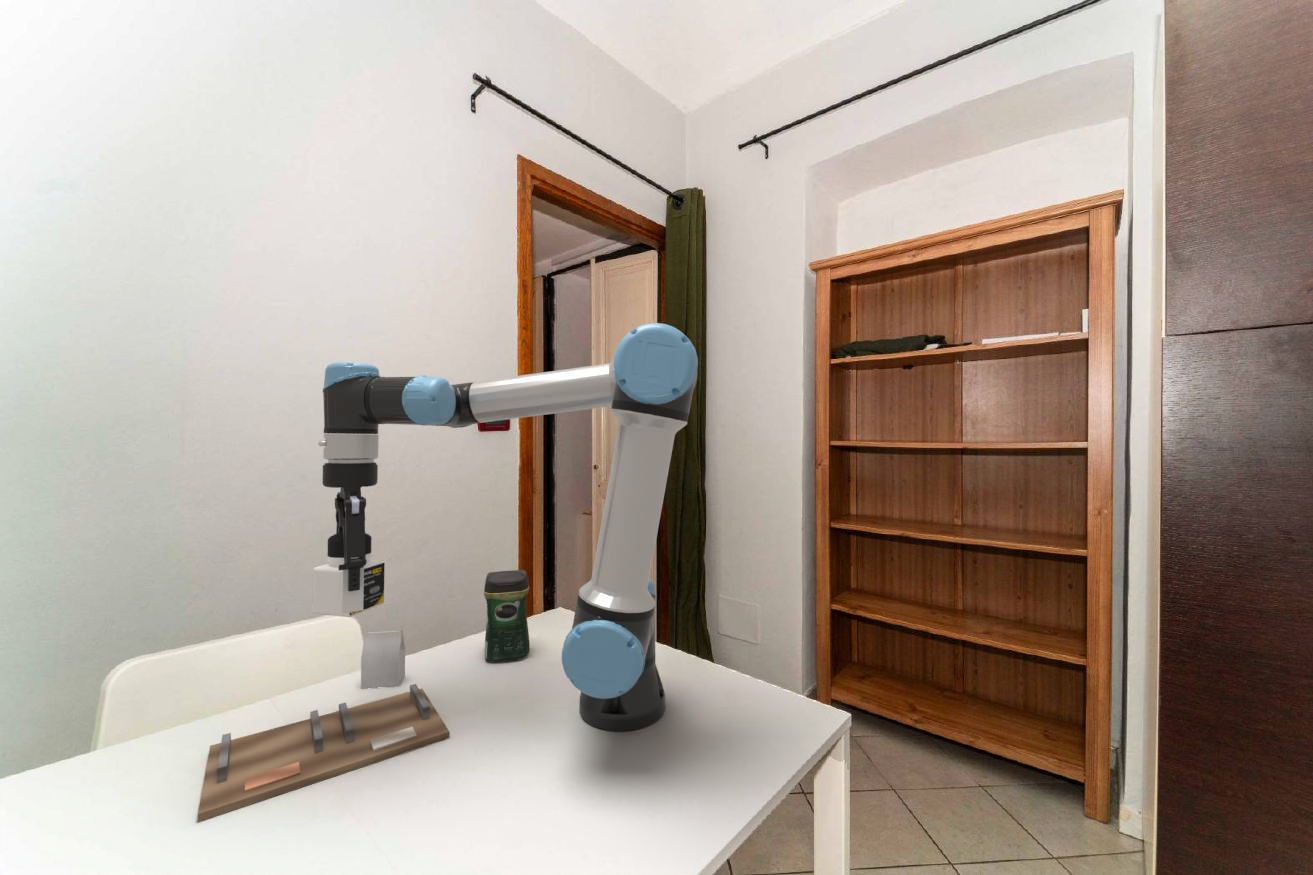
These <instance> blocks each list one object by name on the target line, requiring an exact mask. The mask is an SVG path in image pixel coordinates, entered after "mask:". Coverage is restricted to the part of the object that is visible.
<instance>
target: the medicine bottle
mask: <svg viewBox="0 0 1313 875" xmlns="http://www.w3.org/2000/svg"><path fill="white" fill-rule="evenodd" d="M372 552H373V535H372V534H371V533H369V532H366V531H365V553H366V561H367V562H366V565H365V566H364V595H363V610H361V611H355V612H349V613H342V576H343V570H339V568H338V567H339V565H343V564H344V544H343V532H342V533H337V534H336V533H335V534H333V535H331V536H329V537H328V538H327V556H326V557H327V562H329V563H326V564H322V565H318V566H314V567H313V568H312V597H311V598H312V600H311V601H312V604H311V606H312V608H311V610H312V611H311V612H312V614H314V615H324V616H333V617H342V618H343V617H345V618H352V617H355V616H357V615H359V614H362V613H364V612H367V611H369V610H371V609H374V608H376V607H378V606H381V605H383V604H384V603H385V560H382V559H371V558H372V556H373V554H372ZM355 558H358V557H355ZM355 558H351V559H355Z"/></svg>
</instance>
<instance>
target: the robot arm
mask: <svg viewBox="0 0 1313 875" xmlns="http://www.w3.org/2000/svg"><path fill="white" fill-rule="evenodd" d="M698 366H699V358H698V354H697V351H696V348H695V346H694V345H693V343H692V341H691V340H690V339H689V337H687V335H686V334H684V333H683V332H682V331H681V330H679V329H677V327H674V326H672V325H669V324H667V323H659V322H652V323H645V324H642V325H640V326H638V327H635V328H633V329H632V330H630V331H629V332H628V333H627V334H625V335H624V337H623V338H622V339H621V340H620V341H619V344H618V345H617V347H616V349H615V352H614V357H613V359H612V360H611V362H609V363H602V364H597V365H596V364H595V365H588V366H579V367H572V368H567V369H559V370H552V371H544V372H536V373H530V374H522V375H515V376H507V377H506V376H505V377H500V378H493V379H492V378H491V379H484V380H479V381H478V380H477V381H473V382H464V383H456V384H450V383H449V381H448V379H446V378H444V377H440V376H438V377H437V376H436V377H435V376H427V375H419V376H381V375H380V371H379V368H378V367H377V366H376V365H372V364H368V363H361V362H346V361H344V362H343V361H340V362H338V361H337V362H332V363H330V364H328V365H327V366H326V368H325V370H324V371H325V372H324V382H323V388H322V394H323V420H324V421H323V424H324V427H323V438H324V439H320V440H319V441H318V446H319V447H324V448H323V450H322V451H323V455H322V456H323V457H322V458H323V459H324V460H327V462H324V464H323V465H322V485H323V487H325V488H333V489H334V488H335V489H338V488H339V489H340V491H339V492H337V494H336V497H334V508H335V521H336V531H335V534H337V533H342V532H343V544H344V564H343V565H339V567H338V568H339V570H343V576H342V613H349V612H355V611H361V610H363V595H364V566H365V565H366V562H367V561H366V553H365V532H366V507H367V499H366V497H364V496H362V490H361V488H362V487H363V488H365V487H367V488H368V487H373V486H376V485H378V478H379V477H378V474H379V472H378V471H379V470H378V464H377V462H375V460H376V459H378V458H379V438H380V437H379V425H410V426H411V425H412V426H413V425H414V426H433V427H434V426H435V427H448V428H453V429H454V428H455V429H457V428H465V427H466V428H467V427H470V426H472V425H475V424H481V423H489V422H491V423H492V422H496V421H497V422H498V421H504V420H505V421H506V420H513V419H514V420H515V419H521V418H522V419H523V418H529V417H535V416H536V417H537V416H544V415H553V414H559V413H562V414H563V413H568V412H569V413H570V412H575V411H585V410H593V409H599V408H601V409H602V408H609V407H611V408H610V411H611V413H612V415H613V416H614V417H615V419H616V421H617V423H618V426H617V427H618V428H617V432H616V438H615V444H614V448H613V456H612V462H611V466H610V472H609V477H608V478H609V479H608V484H607V489H606V494H605V500H604V506H603V512H602V518H601V521H600V522H601V523H600V528H599V534H598V540H597V546H596V551H595V556H594V561H593V562H594V563H593V568H592V574H591V579H590V580H589V581H588V582H587V583H585V584H583V585H582V586H581V587H580V588H579V590H578V593H577V595H578V596H577V601H576V605H575V610H574V617H573V620H572V621H573V622H572V627H571V629H570V631H569V632H568V633H567V635H566V636H565V639H564V641H563V645H562V650H561V665H562V668H563V672H564V673H565V675H566V677H567V678H568V679H569V681H570V683H571V684H572V685H573V687H575V689H577V690H578V691H580V693H579V700H578V701H579V707H578V709H579V715H580V716H581V718H582V719H583V721H585V723H587V724H588V725H591V726H592V727H595V728H598V729H601V730H606V731H614V732H621V731H622V732H624V731H625V732H626V731H634V730H639V729H642V728H646V727H648V726H651V725H652V724H654V723H656V722H658V720H659V719H661V718H662V716H664V713H665V711H666V693H665V689H664V686H663V684H662V683H663V682H662V680H661V676H660V673H659V671H658V667H657V665H656V664H657V663H656V598H657V593H656V584H655V582H654V580H653V579H651V577H650V576H651V571H652V565H653V560H654V556H655V555H654V554H655V548H656V544H657V543H656V542H657V538H658V531H659V525H660V519H661V515H662V509H663V504H664V498H665V493H666V488H667V481H668V476H669V469H670V465H671V464H670V463H671V459H672V455H673V454H672V452H673V449H674V441H675V437H676V434H677V433H678V432H679V431H681V430H682V429H683V428H685V426H687V425H688V421H689V416H690V411H691V405H692V399H693V393H694V391H695V389H696V386H697V382H698V376H699V375H698V374H699V371H698ZM355 557H358V558H355ZM351 558H355V559H351Z"/></svg>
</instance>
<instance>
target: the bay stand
mask: <svg viewBox="0 0 1313 875" xmlns="http://www.w3.org/2000/svg"><path fill="white" fill-rule="evenodd" d="M346 702H347V701H346ZM346 702H343V703H339V704H338V710H337V711H333V712H329V713H326V714H321V715H319V711H318V709H315V710H312V711H309V712H310V713H309V714H310V715H309V716H310V717H309V718H307V719H303V720H301V721H297V722H294V723H289V724H285V725H281V726H277V727H275V728H270V729H266V730H263V731H258V732H256V733H252V734H249V735H244V736H240V737H236V738H234V739H232V732H229V733H225V734H222V735H221V742H219V743H214V744H211V745H209V750H208V754H207V760H206V767H205V772H204V777H203V784H202V788H201V793H200V799H199V805H198V810H197V823H200V822H202V821H206V820H208V819H212V818H215V817H217V816H221V815H224V814H227V813H230V812H232V811H236V810H239V809H241V808H245V807H247V806H251V805H253V804H256V803H260V802H262V801H265V800H269V799H271V798H273V797H278V796H280V795H283V794H287V793H289V792H292V791H295V790H298V789H301V788H304V787H306V786H310V785H313V784H317V783H319V782H322V781H325V780H327V779H331V778H333V777H337V776H340V775H343V774H346V773H349V772H351V771H354V770H357V769H358V770H359V769H360V768H363V767H366V766H369V765H370V766H371V765H372V764H375V763H379V762H381V761H384V760H388V759H390V758H393V757H396V756H399V755H402V754H405V753H408V752H412V751H414V750H417V749H420V748H424V747H425V746H429V745H431V744H435V743H438V742H441V741H444V740H448V739H450V730H449V728H448V727H447V725H446V724H445V722H444V720H443V718H442V717H441V716H440V714H439V712H438V711H437V709H436V708H435V707H434V704H433V703H432V702H431V700H430V698H429V697H428V696H427V694H426V692H425V690H424V689H423V688H422V687H421V688H419V687H418V685H417V683H415V684H414V683H413V684H410V685H409V691H406V692H403V693H400V694H396V695H392V696H388V697H384V698H382V699H378V700H373V701H370V702H366V703H363V704H359V705H356V706H351V707H348V704H347V703H346Z"/></svg>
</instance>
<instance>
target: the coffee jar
mask: <svg viewBox="0 0 1313 875" xmlns="http://www.w3.org/2000/svg"><path fill="white" fill-rule="evenodd" d="M484 582H485V583H484V589H483V596H484V599H485V601H486V626H485V634H484V635H485V638H484V650H483V651H484V653H483V654H484V659H485V660H486V661H488V662H489V663H490V662H491V663H501V662H511V661H516V660H521V659H524V658H525V657H527V656H528V655H529V654H530V648H531V647H530V634H529V626H528V624H529V623H528V616H527V615H528V613H527V598H528V595H529V591H530V584H529V579H528V573H527V571H526V570H525V569H517V570H516V569H515V570H513V569H512V570H501V571H490V572H488V573H487V575H486V577H485V581H484Z"/></svg>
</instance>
